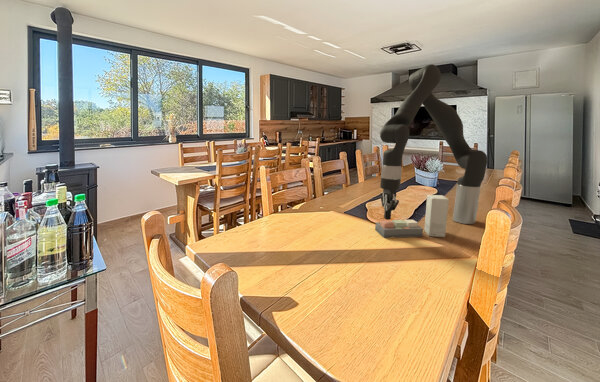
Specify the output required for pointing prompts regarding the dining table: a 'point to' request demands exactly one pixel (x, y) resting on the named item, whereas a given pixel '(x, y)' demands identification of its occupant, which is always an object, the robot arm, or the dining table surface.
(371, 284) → the dining table surface
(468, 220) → the robot arm
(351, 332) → the dining table surface
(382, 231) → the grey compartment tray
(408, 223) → the key ivory
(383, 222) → the key coral
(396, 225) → the key sage
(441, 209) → the skincare box
